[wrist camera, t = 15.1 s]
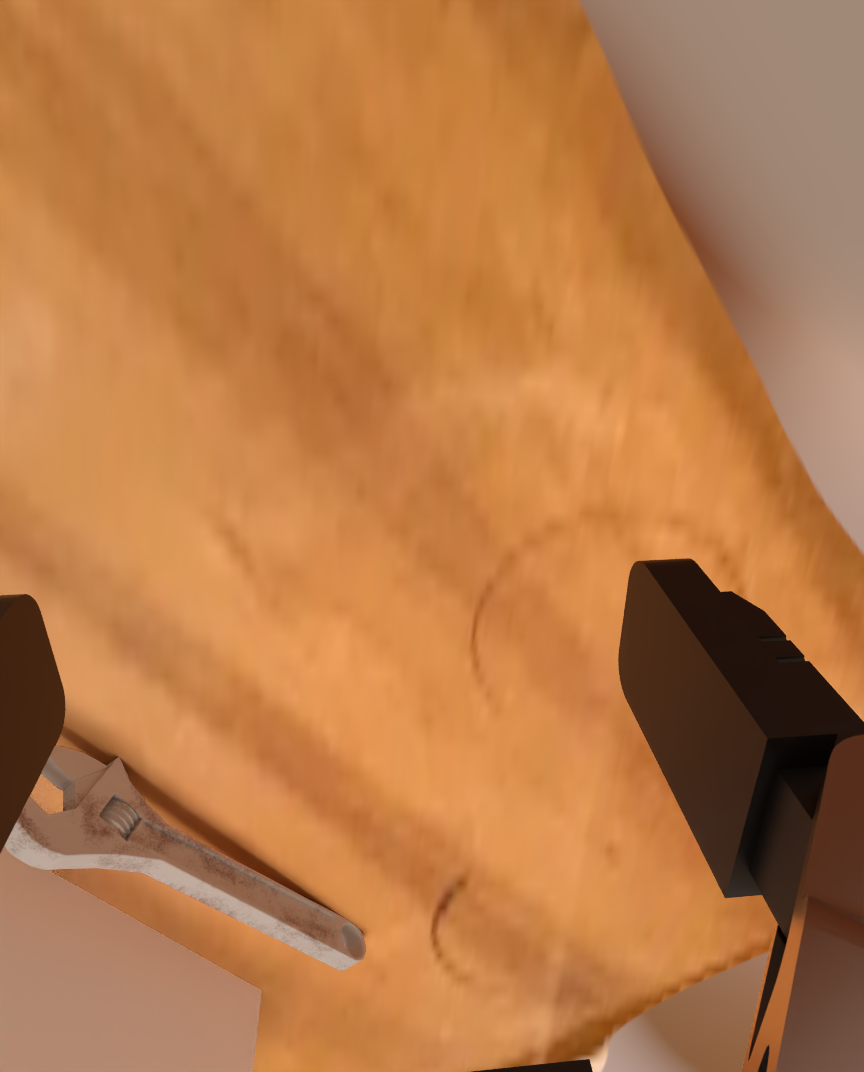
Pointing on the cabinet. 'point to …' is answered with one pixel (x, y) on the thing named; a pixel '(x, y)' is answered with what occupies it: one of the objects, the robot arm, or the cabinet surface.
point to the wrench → (167, 857)
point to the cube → (109, 988)
